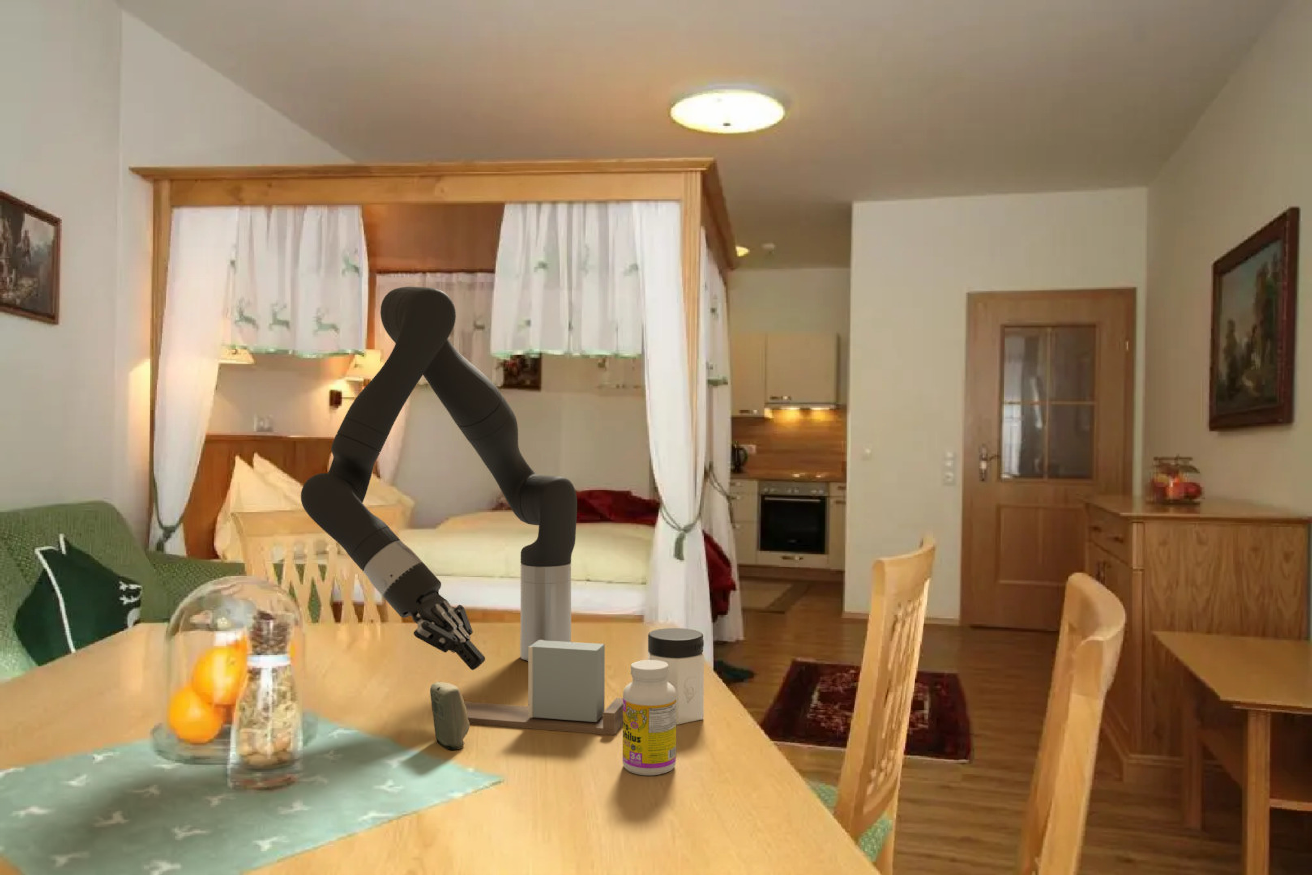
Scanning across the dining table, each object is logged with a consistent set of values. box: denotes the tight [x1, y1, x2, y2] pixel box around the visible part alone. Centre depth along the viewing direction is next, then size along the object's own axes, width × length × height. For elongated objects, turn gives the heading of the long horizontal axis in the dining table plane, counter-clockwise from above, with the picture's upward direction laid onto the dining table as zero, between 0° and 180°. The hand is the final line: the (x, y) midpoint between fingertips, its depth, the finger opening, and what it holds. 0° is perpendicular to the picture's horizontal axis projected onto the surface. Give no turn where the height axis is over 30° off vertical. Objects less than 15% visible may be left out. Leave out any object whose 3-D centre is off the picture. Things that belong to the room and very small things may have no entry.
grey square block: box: [527, 640, 606, 722], centre depth 132 cm, size 4×10×10 cm, turn 77°
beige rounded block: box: [429, 681, 470, 751], centre depth 123 cm, size 6×5×8 cm
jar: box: [647, 627, 705, 726], centre depth 135 cm, size 9×8×12 cm
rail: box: [464, 697, 623, 736], centre depth 133 cm, size 7×26×3 cm, turn 77°
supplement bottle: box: [622, 659, 677, 776], centre depth 115 cm, size 7×7×13 cm
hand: (479, 664), depth 135 cm, fingers closed
